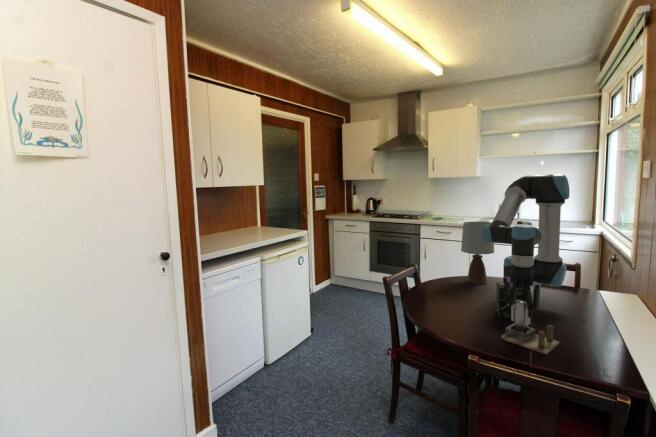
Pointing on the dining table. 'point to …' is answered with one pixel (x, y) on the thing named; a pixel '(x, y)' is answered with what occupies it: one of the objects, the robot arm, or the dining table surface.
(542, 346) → the beige peg board
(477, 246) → the lamp
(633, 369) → the dining table surface
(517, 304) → the pin
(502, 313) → the tampon box
